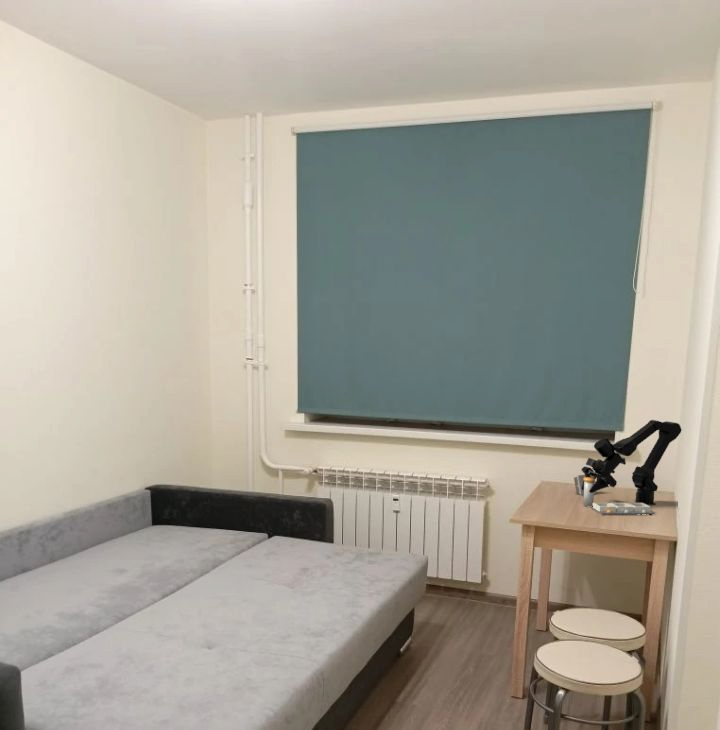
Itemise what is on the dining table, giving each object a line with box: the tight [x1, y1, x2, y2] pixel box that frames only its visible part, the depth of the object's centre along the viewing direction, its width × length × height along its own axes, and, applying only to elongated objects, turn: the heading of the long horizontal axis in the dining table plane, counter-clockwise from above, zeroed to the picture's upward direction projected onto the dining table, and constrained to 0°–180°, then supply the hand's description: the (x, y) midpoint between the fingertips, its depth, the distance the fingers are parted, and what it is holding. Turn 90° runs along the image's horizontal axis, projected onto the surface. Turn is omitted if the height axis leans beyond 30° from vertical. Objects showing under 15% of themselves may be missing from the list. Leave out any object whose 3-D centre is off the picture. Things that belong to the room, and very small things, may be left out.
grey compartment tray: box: [591, 502, 655, 516], centre depth 276 cm, size 22×10×3 cm, turn 95°
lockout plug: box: [583, 477, 596, 508], centre depth 285 cm, size 5×5×12 cm
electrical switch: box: [573, 474, 597, 496], centre depth 309 cm, size 9×5×9 cm, turn 116°
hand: (585, 490), depth 285 cm, fingers open, 6 cm apart
